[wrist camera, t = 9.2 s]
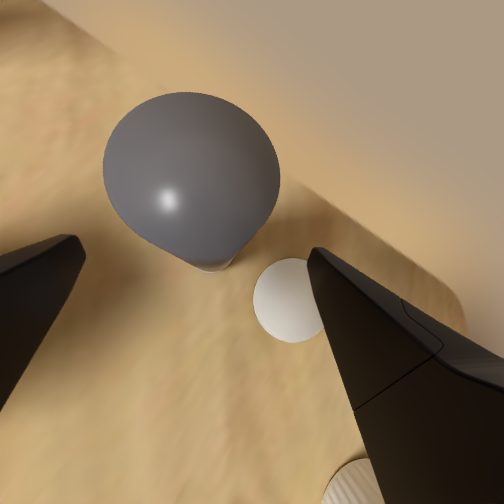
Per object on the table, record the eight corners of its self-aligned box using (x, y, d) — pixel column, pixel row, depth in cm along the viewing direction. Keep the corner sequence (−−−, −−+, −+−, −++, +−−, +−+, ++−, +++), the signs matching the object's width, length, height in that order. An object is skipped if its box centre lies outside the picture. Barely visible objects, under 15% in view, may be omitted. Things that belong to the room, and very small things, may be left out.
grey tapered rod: (240, 244, 17) (309, 151, 4) (219, 281, 17) (230, 291, 4) (204, 223, 17) (169, 59, 4) (181, 259, 16) (55, 192, 4)
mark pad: (342, 283, 18) (344, 283, 18) (309, 356, 17) (311, 357, 17) (277, 243, 18) (278, 243, 17) (237, 316, 16) (238, 317, 16)
